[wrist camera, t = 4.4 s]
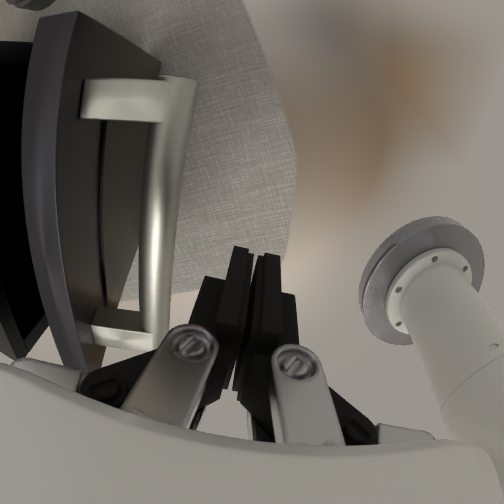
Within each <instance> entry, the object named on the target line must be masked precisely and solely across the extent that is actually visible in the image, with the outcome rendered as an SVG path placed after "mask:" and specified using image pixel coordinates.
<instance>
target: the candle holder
mask: <svg viewBox="0 0 504 504" xmlns="http://www.w3.org/2000/svg"><path fill="white" fill-rule="evenodd" d="M54 1H55V0H6V2H7V3H8V4H10V5H11V4H14V5H15V6H16V7H17V8H23V9H29V10H35V11H37V10H42V9H44V8H46V7H48V6H49V5H50V4H51V3H53V2H54Z"/></svg>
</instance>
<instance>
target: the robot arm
mask: <svg viewBox="0 0 504 504" xmlns="http://www.w3.org/2000/svg"><path fill="white" fill-rule="evenodd" d="M248 252H249V249H247V248H242V247H238V246H234V248H233V252H232V256H231V260H230V264H229V268H228V272H227V276H226V280H222V279H218V278H213V277H209V276H205V277H204V280H203V283H202V285H201V288H200V291H199V294H198V297H197V300H196V302H195V306H194V308H193V311H192V314H191V317H190V320H189V323H188V324H183V325H178V326H176V327H174V328H172V329H171V330H170V331H169V332H168V333H167V334H166V336H165V337H164V339H163V340H162V342H161V343H160V345H159V347H158V348H157V349H154V350H152V351H149V352H146V353H143V354H141V355H138V356H135V357H132V358H129V359H126V360H123V361H120V362H118V363H114V364H112V365H109V366H105V367H102V368H99V369H96V370H94V371H92V372H90V373H83V372H82V370H81V369H79V368H73V367H68V366H63V365H58V364H54V363H49V362H44V361H40V360H36V359H32V358H24V357H23V358H19V359H16V360H15V361H14V362H12V364H11V365H8V364H4V363H0V504H504V327H503V326H502V324H501V323H500V321H499V320H498V318H497V317H496V316H495V314H494V313H493V312H492V310H491V309H490V308H489V306H488V305H487V304H486V302H485V301H484V300H483V299H482V297H481V296H480V295H479V293H478V292H477V291H476V290H475V288H474V287H473V286H472V285H471V283H472V271H471V268H470V265H469V263H468V261H467V260H466V259H465V258H464V257H463V256H462V254H460V253H459V252H457V251H456V250H453V249H450V248H437V249H432V250H429V251H426V252H424V253H422V254H420V255H418V256H416V257H415V258H414V259H412V260H411V261H410V262H408V263H407V264H406V265H405V266H404V267H403V268H402V269H401V270H400V272H399V273H398V274H397V276H396V277H395V278H394V280H393V282H392V283H391V285H390V287H389V290H388V293H387V296H386V302H385V308H386V313H387V317H388V319H389V321H390V323H391V325H392V326H393V327H394V328H395V329H397V330H398V331H400V332H402V333H405V334H409V335H410V337H411V340H412V342H413V344H414V346H415V349H416V351H417V353H418V356H419V358H420V360H421V363H422V365H423V367H424V370H425V373H426V375H427V377H428V380H429V383H430V385H431V388H432V390H433V393H434V396H435V399H436V401H437V404H438V407H439V410H440V413H441V415H442V418H443V421H444V424H445V426H446V429H447V430H448V432H449V433H450V435H452V437H453V438H455V439H456V440H457V441H456V440H435V438H434V437H433V435H431V434H430V433H429V432H426V431H423V430H415V429H409V428H403V427H397V426H392V425H386V424H381V423H379V424H378V425H376V426H375V425H373V423H372V422H371V421H370V420H369V419H368V418H367V417H365V416H364V415H363V414H362V413H361V412H359V411H358V410H357V409H356V408H354V407H353V406H352V405H351V404H349V403H348V402H347V401H346V400H345V399H344V398H342V397H341V396H340V395H338V394H337V393H336V392H335V391H334V390H333V389H331V388H330V387H329V386H328V384H327V381H326V377H325V374H324V371H323V368H322V364H321V362H320V360H319V358H318V357H317V356H316V355H315V354H314V352H312V351H310V350H309V349H307V348H306V347H303V346H300V345H299V335H298V323H297V312H296V302H295V296H294V295H293V294H288V293H283V292H281V265H280V256H278V255H274V254H269V253H265V254H264V256H260V255H258V258H257V262H256V266H255V269H254V273H253V277H252V281H251V275H252V267H253V258H254V254H251V253H248ZM250 284H251V285H250ZM235 361H236V366H235V373H234V381H233V387H232V390H233V391H238V396H237V400H238V401H240V403H241V404H242V405H243V406H244V407H245V408H246V409H247V410H248V411H247V425H248V436H249V440H245V439H238V438H231V437H226V436H220V435H214V434H210V433H205V432H200V431H198V428H199V426H200V423H201V420H202V418H203V416H204V413H205V411H206V406H207V405H209V404H211V403H213V402H215V401H216V400H218V399H220V396H221V392H222V389H227V388H228V385H229V382H230V379H231V375H232V372H233V368H234V365H235Z"/></svg>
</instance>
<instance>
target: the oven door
mask: <svg viewBox="0 0 504 504" xmlns="http://www.w3.org/2000/svg"><path fill="white" fill-rule="evenodd" d="M160 66H161V62H160V61H158V60H157V59H155V58H154V57H153V56H151V55H150V54H148V53H147V52H145V51H144V50H142V49H141V48H139V47H138V46H136V45H135V44H133V43H132V42H130V41H129V40H127V39H125V38H124V37H122V36H121V35H119V34H117V33H116V32H114V31H113V30H111V29H109V28H108V27H106V26H104V25H103V24H101V23H99V22H98V21H96V20H94V19H92V18H91V17H89V16H87V15H85V14H83V13H82V12H80V11H72V12H65V13H59V14H54V15H49V16H44V17H41V18H40V19H39V22H38V26H37V30H36V33H35V38H34V42H33V46H32V51H31V56H30V61H29V67H28V73H27V79H26V86H25V95H24V104H23V117H22V138H21V166H22V187H23V200H24V210H25V219H26V227H27V234H28V240H29V246H30V252H31V257H32V262H33V267H34V271H35V276H36V280H37V284H38V288H39V292H40V296H41V300H42V303H43V307H44V310H45V314H46V317H47V320H48V323H49V326H50V329H51V332H52V335H53V338H54V341H55V344H56V347H57V349H58V352H59V355H60V357H61V360H62V362H63V365H64V366H68V367H73V368H79V369H81V370H82V372H83V373H90V372H92V371H94V370H96V369H99V368H101V365H102V361H103V357H104V353H105V349H106V346H108V347H115V348H122V349H128V350H136V351H144V352H149V351H152V350H154V349H157V348H158V347H159V345H160V343H161V342H162V340H163V339H164V337H165V336H166V334H167V333H168V332H169V320H170V300H171V284H172V270H173V258H174V247H175V236H176V227H177V218H178V209H179V201H180V193H181V185H182V178H183V171H184V165H185V158H186V152H187V146H188V140H189V134H190V128H191V122H192V117H193V112H194V107H195V102H196V97H197V92H198V87H199V82H200V81H199V80H197V79H193V78H187V77H179V76H167V75H160V76H158V75H159V70H160ZM138 246H139V308H140V312H139V311H131V310H124V309H117V307H118V304H119V301H120V298H121V294H122V291H123V288H124V285H125V282H126V279H127V276H128V274H129V271H130V268H131V265H132V262H133V259H134V257H135V254H136V251H137V249H138Z"/></svg>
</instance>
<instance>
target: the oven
mask: <svg viewBox="0 0 504 504" xmlns="http://www.w3.org/2000/svg"><path fill="white" fill-rule="evenodd" d="M32 46H33V42H16V41H0V352H2V353H3V354H5V355H6V356H8V357H9V358H11V359H13V360H14V361H15V360H16V359H19V358H23V357H24V358H25V357H26V355H27V354H28V352H30V350H31V349H32V348H33V346H34V345H35V343H36V342H37V341H38V339H39V338H40V336H41V335H42V334H43V333H44V331H45V330H46V329H47V327H48V326H49V323H48V320H47V317H46V314H45V310H44V307H43V303H42V300H41V296H40V292H39V288H38V284H37V280H36V276H35V271H34V267H33V262H32V257H31V252H30V246H29V240H28V234H27V227H26V219H25V210H24V200H23V187H22V166H21V138H22V117H23V104H24V95H25V86H26V79H27V73H28V67H29V61H30V56H31V51H32Z"/></svg>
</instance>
